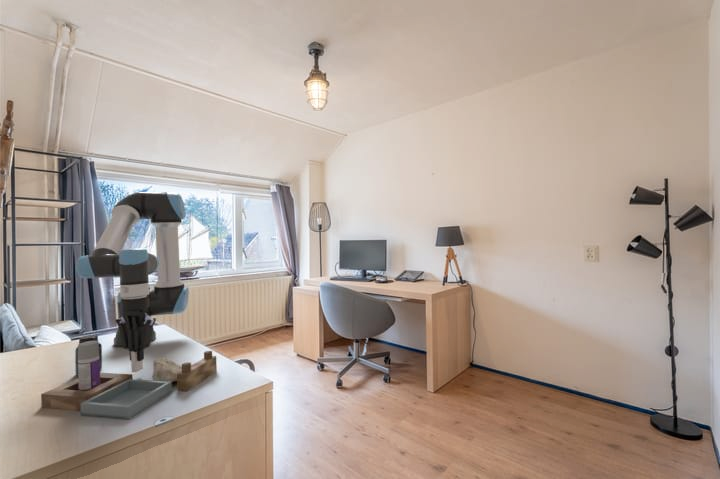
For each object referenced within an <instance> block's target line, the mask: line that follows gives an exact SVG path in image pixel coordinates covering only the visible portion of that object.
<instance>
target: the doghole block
mask: <svg viewBox="0 0 720 479" xmlns="http://www.w3.org/2000/svg"><path fill="white" fill-rule="evenodd" d="M129 379H133V374H132V373H131V374H130V373H117V372H115V373H113V372H100V385H99V386H97V387H95V388H93V389H91V390H89V391H79V381H78V378H75V379H73V380H72V381H69V382H66V383H65V384H62V385H61V384H60V386H57V387H55V388H53V389H50V390H48V391H45V392H42V393H41V394H40V395H41V396H40V398H41V400H40V401H41V403H40V404H41V408H46V409H47V408H48V409H49V408H50V409H61V410H71V411H72V410H73V411H81V405H80V404H81V403H83V402H85V401H87V400H89V399H91V398H93V397H95V396H97V395H99V394H101V393H103V392H105V391H107V390H109V389H111V388H113V387H115V386H117V385H119V384H121V383H123V382H125V381H127V380H129Z"/></svg>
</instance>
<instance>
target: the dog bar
mask: <svg viewBox="0 0 720 479" xmlns="http://www.w3.org/2000/svg"><path fill="white" fill-rule="evenodd" d="M181 366H182V371H180V372H179V373H177V381H176V385H177V386H176V387H177V391H178V392H188V391H189V390H191V389H192V388H194V387H196V386H197V385H198V384H200V383H202V382H203V381H205V380H206V379H207V378H209V377H210V376H212V375H213V374H215V373H216V372H217V371H218V370H217V356H216V355H213V351H212V350H206V351H204V352H203V358H202V359H199V360H198V361H196V362H194V363H193V364H192V362H184V363H182V364H181ZM215 371H216V372H215ZM214 372H215V373H214ZM211 374H212V375H211ZM208 376H209V377H208Z"/></svg>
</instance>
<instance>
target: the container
mask: <svg viewBox="0 0 720 479" xmlns="http://www.w3.org/2000/svg"><path fill="white" fill-rule="evenodd" d="M99 343H100V342H99V340H98V341H87V342H83V343H80V344H79V343H78V344H77V347H78V376H77V377H78V378H77V379H78V381H79V391H89V390H91V389H93V388H95V387H97V386H99V385H100V373H101V371H100V358H99Z"/></svg>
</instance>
